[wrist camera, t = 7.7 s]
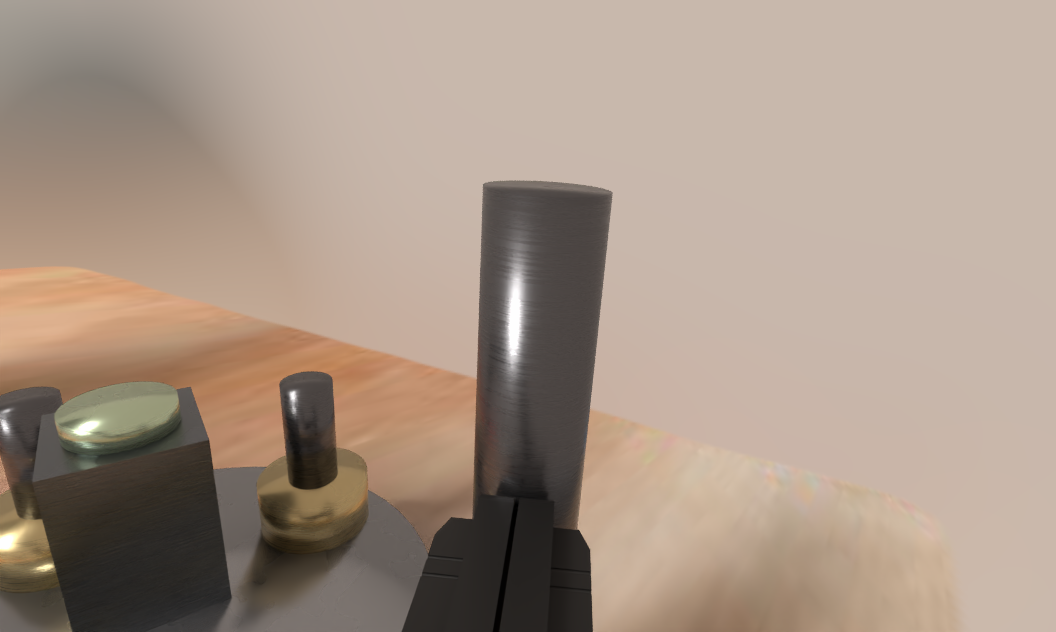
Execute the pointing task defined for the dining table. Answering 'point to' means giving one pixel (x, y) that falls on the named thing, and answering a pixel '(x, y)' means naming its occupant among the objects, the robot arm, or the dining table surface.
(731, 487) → the dining table surface
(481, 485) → the lever
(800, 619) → the dining table surface
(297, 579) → the tribrach plate
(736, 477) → the dining table surface
